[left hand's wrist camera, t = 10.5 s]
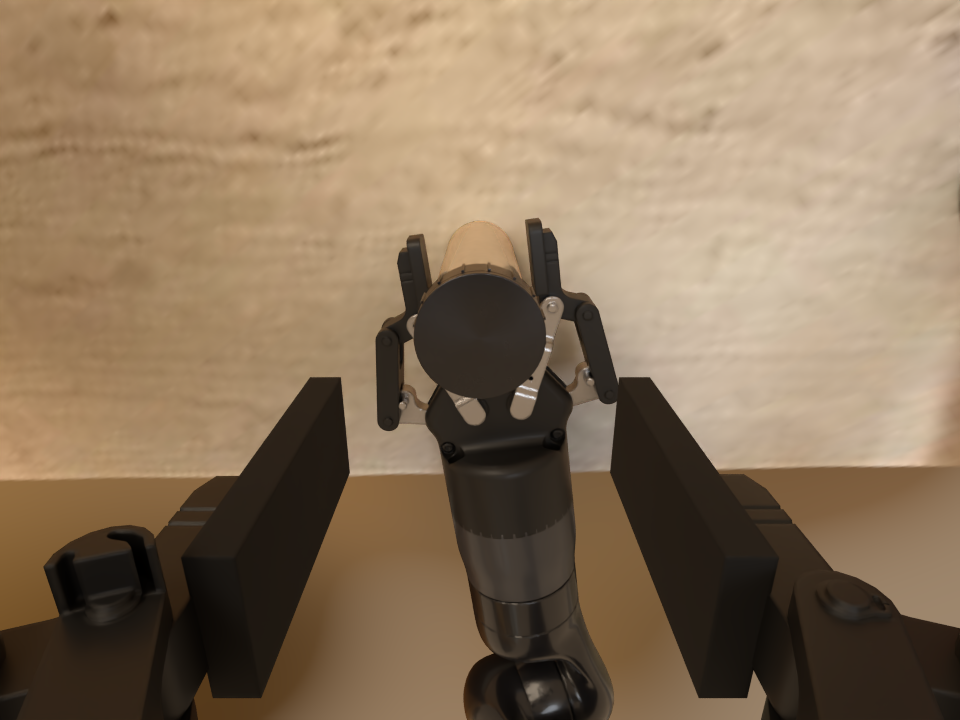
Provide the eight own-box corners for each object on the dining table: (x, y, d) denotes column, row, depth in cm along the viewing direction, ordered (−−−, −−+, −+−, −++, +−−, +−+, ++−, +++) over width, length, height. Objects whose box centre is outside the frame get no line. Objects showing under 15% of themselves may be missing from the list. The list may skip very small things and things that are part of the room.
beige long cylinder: (444, 222, 36) (418, 282, 21) (511, 218, 36) (535, 276, 21) (449, 288, 37) (428, 389, 22) (514, 284, 37) (537, 383, 22)
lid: (411, 265, 22) (405, 276, 20) (541, 258, 22) (546, 267, 20) (423, 385, 24) (419, 403, 22) (543, 378, 23) (548, 396, 22)
